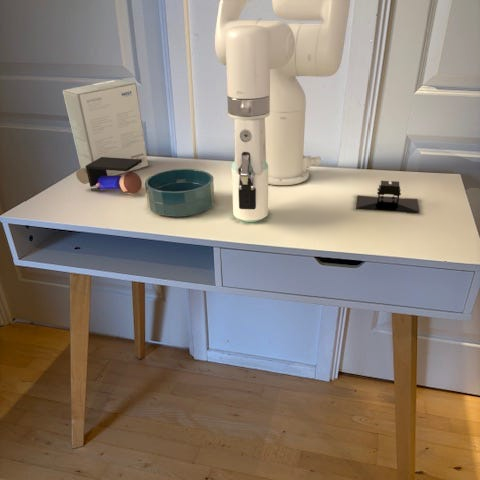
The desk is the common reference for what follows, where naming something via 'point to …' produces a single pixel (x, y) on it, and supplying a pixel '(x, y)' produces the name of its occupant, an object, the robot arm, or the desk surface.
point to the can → (261, 196)
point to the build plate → (388, 200)
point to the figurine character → (98, 176)
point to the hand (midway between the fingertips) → (250, 199)
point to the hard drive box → (106, 122)
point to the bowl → (180, 192)
